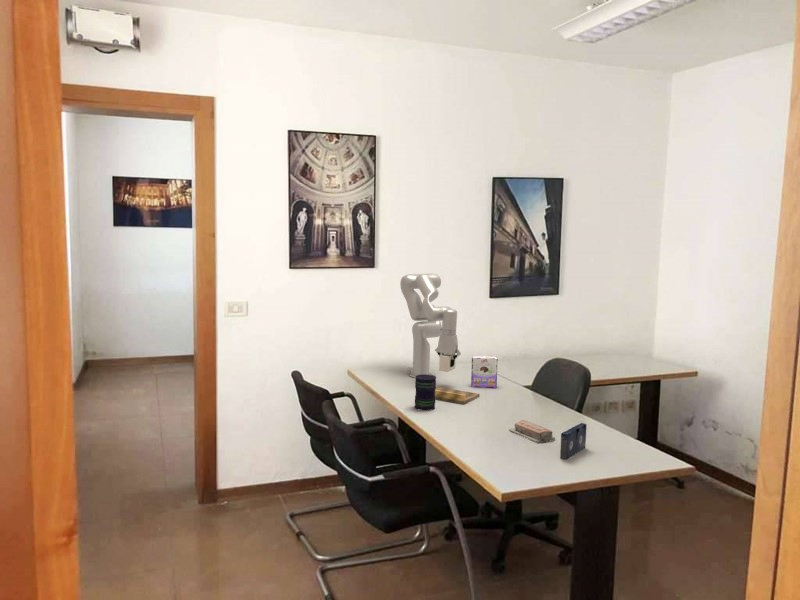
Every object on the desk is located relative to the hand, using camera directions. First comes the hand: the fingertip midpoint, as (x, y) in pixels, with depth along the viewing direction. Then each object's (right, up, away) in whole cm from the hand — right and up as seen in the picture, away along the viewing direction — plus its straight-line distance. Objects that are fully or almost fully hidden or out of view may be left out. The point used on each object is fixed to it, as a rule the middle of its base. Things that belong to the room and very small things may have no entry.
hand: (447, 365), depth 347 cm
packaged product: (+30, -22, -76) cm, 84 cm away
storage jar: (-13, -16, -39) cm, 44 cm away
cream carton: (0, -2, 0) cm, 2 cm away
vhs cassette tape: (+42, -25, -96) cm, 108 cm away
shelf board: (0, -14, -18) cm, 23 cm away
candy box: (+20, -12, +5) cm, 24 cm away
